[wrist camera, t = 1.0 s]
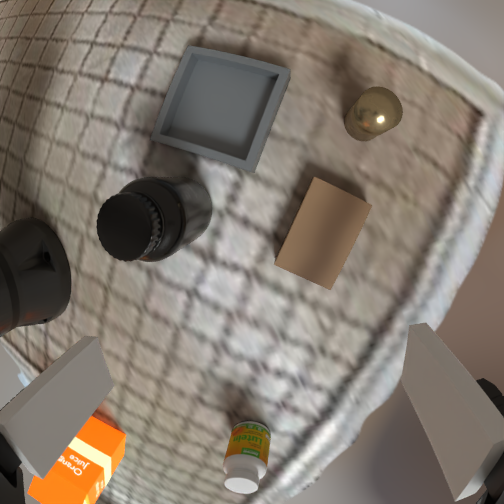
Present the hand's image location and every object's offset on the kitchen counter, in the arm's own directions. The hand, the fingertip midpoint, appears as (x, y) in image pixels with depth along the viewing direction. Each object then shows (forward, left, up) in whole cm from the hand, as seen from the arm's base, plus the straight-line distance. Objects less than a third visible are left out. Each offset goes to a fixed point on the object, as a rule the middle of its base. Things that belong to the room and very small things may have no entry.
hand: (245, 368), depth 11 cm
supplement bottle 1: (-10, +1, -20) cm, 23 cm away
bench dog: (+4, +16, -20) cm, 26 cm away
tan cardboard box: (+4, +4, -20) cm, 21 cm away
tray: (-10, +12, -20) cm, 25 cm away
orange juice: (-15, -42, -20) cm, 49 cm away
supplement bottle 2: (+7, -25, -20) cm, 33 cm away
